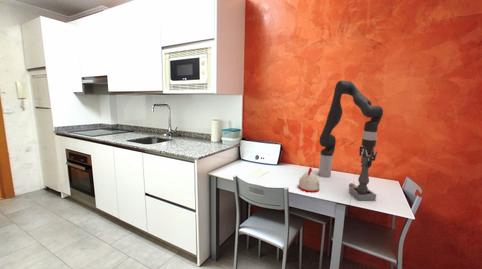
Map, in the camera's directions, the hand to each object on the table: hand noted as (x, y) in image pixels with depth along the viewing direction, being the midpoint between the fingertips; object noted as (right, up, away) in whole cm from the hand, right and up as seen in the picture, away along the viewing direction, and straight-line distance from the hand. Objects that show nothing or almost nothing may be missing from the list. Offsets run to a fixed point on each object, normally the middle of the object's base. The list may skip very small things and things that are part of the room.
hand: (365, 164), depth 139 cm
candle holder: (-1, -19, +4) cm, 20 cm away
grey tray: (-1, -21, +7) cm, 22 cm away
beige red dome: (-31, -19, +15) cm, 39 cm away
